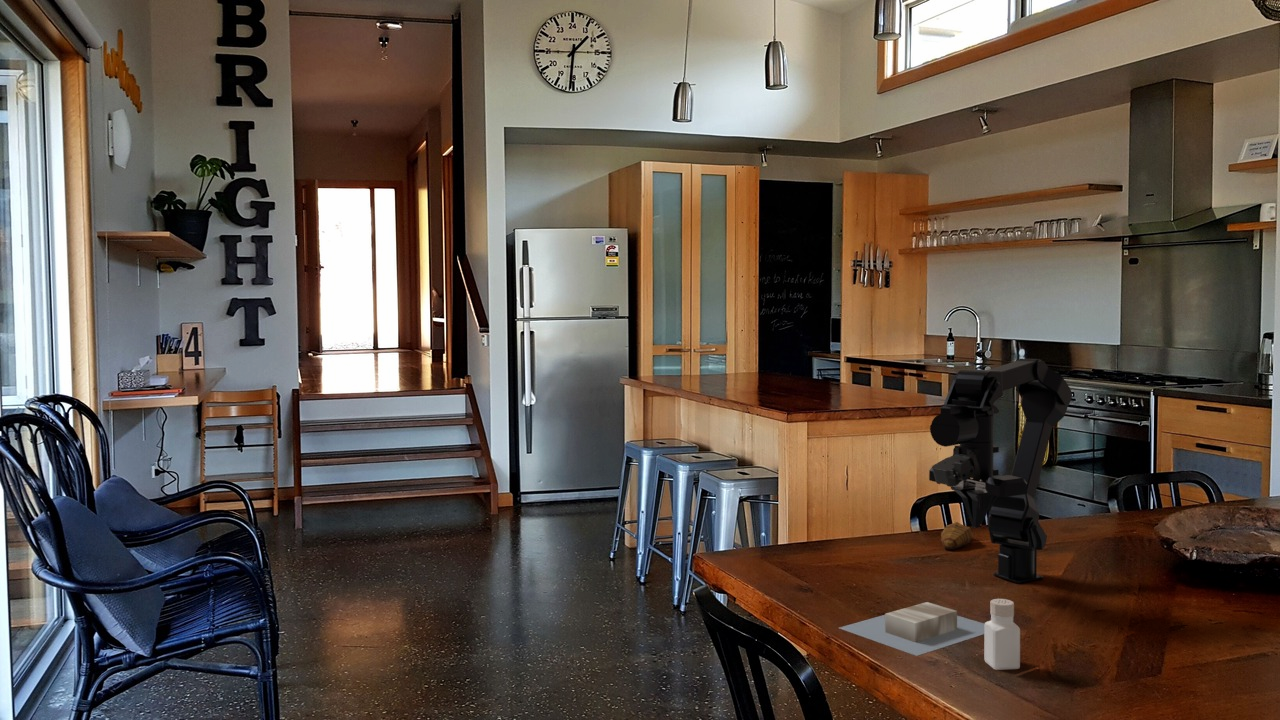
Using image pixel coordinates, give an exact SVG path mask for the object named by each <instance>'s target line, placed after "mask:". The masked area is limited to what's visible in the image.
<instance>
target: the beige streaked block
mask: <svg viewBox="0 0 1280 720" xmlns="http://www.w3.org/2000/svg"><path fill="white" fill-rule="evenodd" d="M884 615H885V632H886V633H889V634H892V635H895V636H898V637H901V638H904V639H907V640H910V641H912V642H918V641H921V640H925V639H928V638H931V637H934V636H937V635H941V634H944V633H947V632H950V631H954V630H957V616H958V610H955V609H953V608H948V607H945V606H942V605H939V604H936V603H931V602H929V601H926V602H922V603H918V604H916V605H912V606H908V607H904V608H901V609H898V610H893V611H890V612H886V613H884Z"/></svg>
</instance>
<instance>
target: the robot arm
mask: <svg viewBox="0 0 1280 720" xmlns="http://www.w3.org/2000/svg"><path fill="white" fill-rule="evenodd" d="M955 375H956V376H955V377H954V378H953V380H952V382H951V385H950V387H949V391H948V393H947V394H946V398H945V400H944V403H943V405H942V406H940V413H939V414H937V415H936V416H934V418H933V419H932V421H931V423H930V425H929V431H930V435H931V437H932V440H933V441H934V442H935V443H936V444H937V445H939V446H941V447H944V448H945V447H952V446H954V447H953V452H952V455H951V456H948V457H946V458H943V459H942V460H940V461H938V462H937V463H935V464H933V465H932V466H931V467H930V469H929V471H928V476H929V477H928V479H929V481H931V482H935V483H936V484H938V485H945V486H947V487H950V489H951V490H952V491H954V492H955V493H956V494H957V495H958V496H960V498H961V500H962V501H963V504H964V506H965V510H966V513H967V516H968V518H969V521H970V523H971V527H972V528H974V529H977V528H981V526H982V524H983V522H984V520H985V518H986V516H987V515H988V518H987V527H988V533H989V537H990V542H991V544H994V545H995V544H996V545H999V553H998V556H997V561H998V563H997V564H998V566H997V568H998V570H997V571H994V572H993V576H995V577H999V578H1001V579H1004V580H1008V581H1009V582H1014V583H1016V584H1022V583H1027V582H1033V581H1037V580H1043V579H1044V576H1043V575H1041V574H1038V573H1037V566H1038V565H1037V564H1038V563H1037V562H1038V561H1037V560H1038V559H1037V557H1038V556H1037V555H1038V554H1037V553H1038V552H1037V551H1042V550H1044V548H1045V547H1046V544H1047V538H1048V535H1047V534H1046V532H1045V530H1044V528H1043V527H1042V525H1041V524H1040V522H1039V519H1040V511H1039V509H1038V505H1037V503H1036V500H1035V495H1036V491H1037V489H1038V484H1039V480H1040V476H1041V473H1042V468H1043V465H1044V460H1045V456H1046V453H1047V449H1048V445H1049V442H1050V439H1051V433H1052V430H1053V428H1054V427H1055V426H1056V425H1057V424H1058V423H1059V422H1060V421H1062V419H1063V418H1064V417H1065V415H1066V413H1067V411H1068V408H1069V405H1070V404H1071V402H1072V397H1073V396H1072V393H1073V392H1072V389H1071V387H1070V385H1068V383H1067V382H1066V380H1065V378H1064V377H1063V375H1060V374H1059V373H1057V372H1056V371H1055V370H1052V369H1051V368H1050V367H1048V365H1047V364H1046V362H1045V361H1044V360H1042V359H1039V358H1019V359H1016V360H1015V361H1012V362H1007V363H1005V364H1002V365H999V366H997V367H993V368H989V369H960V370H959V371H958V372H957V373H956V374H955ZM1013 388H1016V389H1015V390H1016V392H1017V393H1018V395H1019V396H1020V398H1021V402H1020V403H1021V404H1020V406H1021V409H1022V412H1023V414H1024V418H1025V422H1024V426H1023V429H1022V433H1021V436H1020V441H1019V445H1018V448H1017V452H1016V456H1015V460H1014V464H1013V468H1012V470H1011V474H1007V475H999V469H996V468H994V454H995V453H996V454H997V453H999V450H1000V449H999V448H1000V447H999V446H996V445H994V441H995V440H994V437H995V436H994V434H995V433H994V427H995V426H994V423H995V422H994V420H995V418H994V417H995V416H994V415H996V414H997V415H998V414H999V413H1000V409H999V408H998V407H997V406H996V405H995V402H997V401H998V400H1000V399H1001V398H1002V397H1003V396H1004V392H1006V390H1010V389H1013Z"/></svg>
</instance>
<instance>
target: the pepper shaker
mask: <svg viewBox="0 0 1280 720" xmlns="http://www.w3.org/2000/svg"><path fill="white" fill-rule="evenodd" d="M989 604H990V606H989V607H990V616H991V617H990V620H987V621H986V622H984V634H983V636H984V639H983V640H984V641H983V642H984V645H983V647H984V649H983V650H984V652H983V653H984V658H983V659H984V662H985V663H986V664H987V665H989V666H990V668H992V669H993V670H997V671H1004V670H1018V669H1020V667H1021V629H1020V627H1019V626H1018V624H1016V623H1015V622H1014V616H1015V603H1014V600H1013V601H1012V600H1010V599H1006V598H994V599H991V600H990V603H989Z"/></svg>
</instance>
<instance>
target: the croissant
mask: <svg viewBox="0 0 1280 720" xmlns="http://www.w3.org/2000/svg"><path fill="white" fill-rule="evenodd" d="M940 537H941V538H940V540H941V543H942V546H943V547H944V549H946V550H957V549H959V548H961V547H965V546H966V545H968V544H969V543H970V542H971V541H972V539H973V537H974V534H973V532H972V529H971V527H970V526H966V525H963V524H961V523H960V522H958V521H957V522H953V523H951V524H948V525H946V526H945V527H944V528H943V530H942V531H941V532H940Z"/></svg>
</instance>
